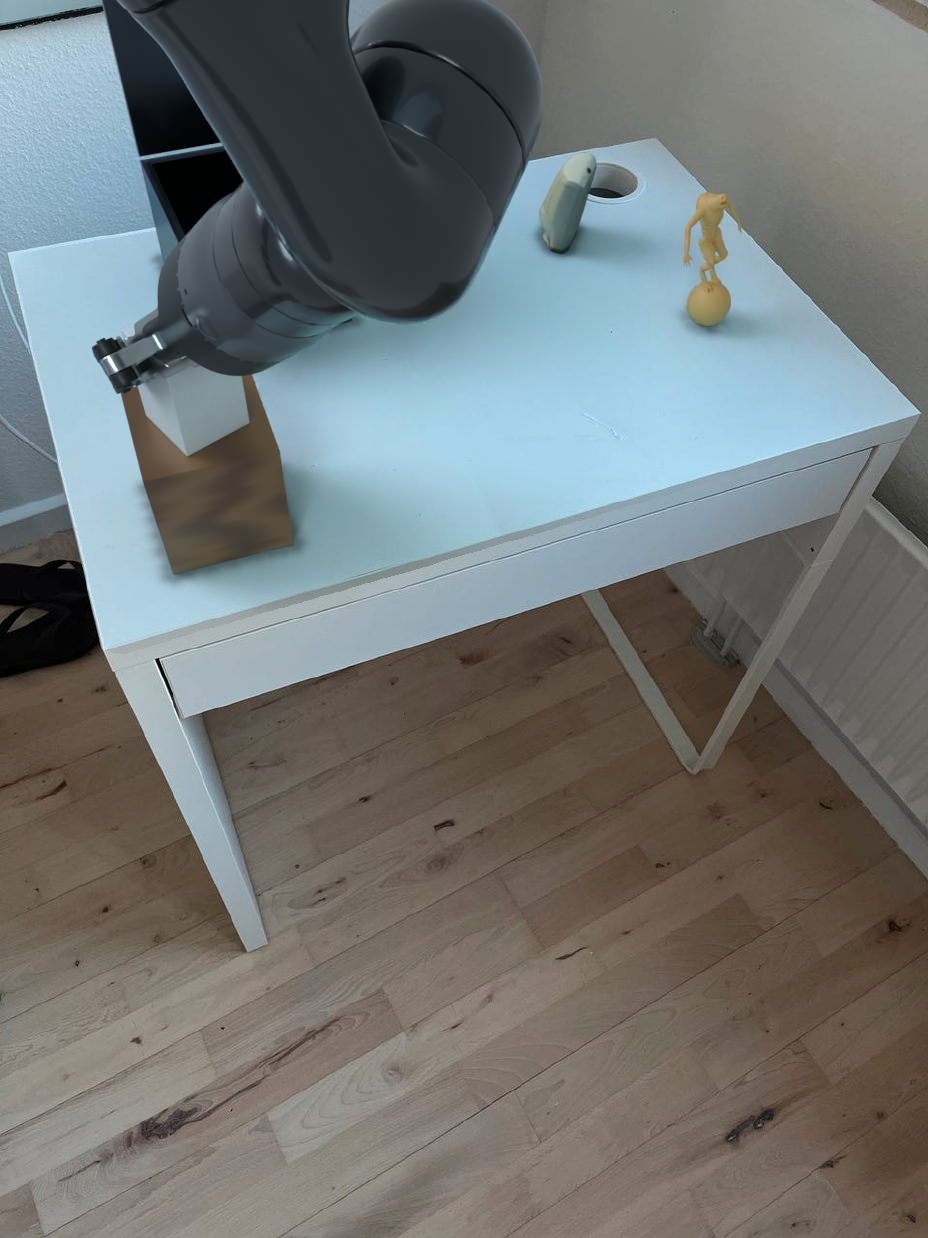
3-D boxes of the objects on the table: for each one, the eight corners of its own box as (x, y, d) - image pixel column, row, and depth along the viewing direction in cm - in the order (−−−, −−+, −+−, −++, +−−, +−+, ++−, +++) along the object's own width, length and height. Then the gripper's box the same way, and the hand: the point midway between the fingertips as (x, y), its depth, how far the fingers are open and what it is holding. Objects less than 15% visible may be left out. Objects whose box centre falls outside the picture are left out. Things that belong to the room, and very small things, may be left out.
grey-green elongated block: (596, 255, 94) (611, 179, 87) (546, 259, 93) (558, 183, 86) (578, 221, 97) (592, 145, 90) (530, 225, 96) (540, 149, 89)
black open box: (352, 321, 86) (347, 223, 78) (205, 356, 82) (185, 257, 74) (299, 231, 93) (290, 133, 85) (162, 259, 89) (139, 159, 81)
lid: (271, -73, 72) (253, -93, 74) (89, -53, 68) (77, -75, 70) (291, 130, 84) (276, 107, 86) (139, 156, 80) (127, 132, 83)
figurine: (693, 350, 86) (731, 232, 76) (642, 318, 88) (673, 199, 79) (745, 312, 90) (788, 195, 80) (695, 282, 92) (731, 165, 82)
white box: (187, 457, 62) (160, 354, 55) (145, 415, 64) (114, 311, 57) (250, 423, 64) (232, 320, 57) (208, 383, 66) (185, 279, 59)
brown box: (173, 574, 69) (142, 481, 60) (150, 487, 73) (119, 389, 65) (293, 545, 71) (280, 451, 63) (264, 461, 75) (248, 363, 67)
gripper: (335, 159, 48) (231, 253, 62) (81, 265, 42) (32, 342, 56) (401, 299, 50) (287, 358, 65) (170, 418, 44) (101, 454, 59)
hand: (168, 350), depth 61 cm, fingers closed on white box, 5 cm apart
